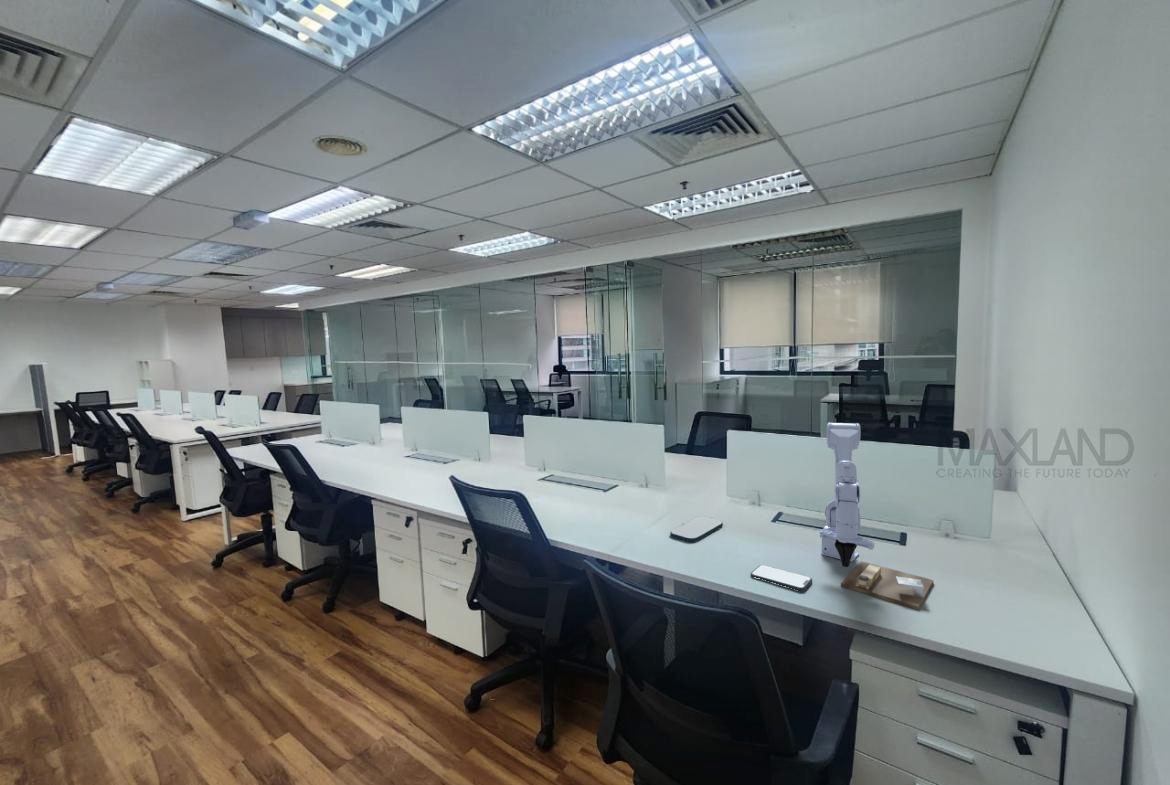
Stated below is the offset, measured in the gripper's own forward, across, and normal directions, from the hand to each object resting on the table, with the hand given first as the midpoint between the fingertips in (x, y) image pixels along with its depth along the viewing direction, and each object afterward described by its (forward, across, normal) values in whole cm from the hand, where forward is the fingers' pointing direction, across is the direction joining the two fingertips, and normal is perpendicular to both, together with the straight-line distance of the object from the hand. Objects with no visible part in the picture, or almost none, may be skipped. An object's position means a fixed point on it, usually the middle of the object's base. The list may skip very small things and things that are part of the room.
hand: (845, 565), depth 147 cm
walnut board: (+3, +10, +2) cm, 11 cm away
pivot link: (+2, +7, -1) cm, 7 cm away
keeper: (+2, +17, -2) cm, 17 cm away
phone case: (+4, -14, -14) cm, 20 cm away
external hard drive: (+4, -54, +3) cm, 54 cm away
